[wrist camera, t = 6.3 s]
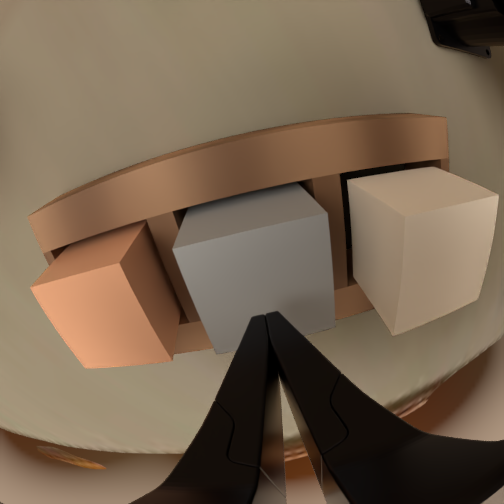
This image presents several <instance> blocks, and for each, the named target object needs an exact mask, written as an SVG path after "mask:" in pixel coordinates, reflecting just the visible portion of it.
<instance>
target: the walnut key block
mask: <svg viewBox="0 0 504 504" xmlns="http://www.w3.org/2000/svg"><path fill="white" fill-rule="evenodd" d="M402 163H405V170H411V169H418V168H425V167H436V168H439V169H441V170H444V171H447V172H449V150H448V132H447V120H446V117H439V116H431V115H422V114H412V113H396V114H376V115H362V116H351V117H341V118H332V119H324V120H316V121H309V122H303V123H296V124H290V125H284V126H279V127H273V128H268V129H263V130H258V131H253V132H248V133H244V134H239V135H235V136H231V137H226V138H222V139H218V140H214V141H211V142H207V143H203V144H199V145H196V146H192V147H189V148H185V149H182V150H178V151H175V152H172V153H169V154H165V155H162V156H159V157H156V158H153V159H150V160H147V161H144V162H141V163H138V164H136V165H133V166H130V167H127V168H125V169H122V170H119V171H117V172H114V173H112V174H109V175H106V176H104V177H101V178H99V179H97V180H94V181H92V182H89V183H87V184H85V185H82V186H80V187H78V188H76V189H73V190H71V191H69V192H67V193H65V194H63V195H60V196H59V197H57V198H55V199H54V200H52V201H51V202H49V203H47V204H46V205H44V206H43V207H41V208H40V209H38V210H37V211H35V212H34V213H32V214H31V215H29V216H28V220H29V222H30V225H31V227H32V229H33V232H34V234H35V236H36V239H37V241H38V243H39V245H40V248H41V250H42V252H43V254H44V256H45V258H46V260H47V262H48V264H49V266H50V265H51V264H52V262H53V261H54V260H55V259H56V258H57V257H58V256H59V255H60V254H61V253H62V252H63V251H64V250H65V249H66V248H67V247H68V246H69V245H70V244H71V243H73V242H76V241H79V240H82V239H85V238H87V237H90V236H93V235H96V234H99V233H102V232H105V231H109V230H112V229H115V228H118V227H121V226H124V225H127V224H131V223H134V222H137V221H141V220H144V219H146V220H147V222H148V225H149V228H150V230H151V233H152V236H153V238H154V241H155V244H156V246H157V249H158V251H159V254H160V256H161V259H162V261H163V264H164V266H165V268H166V271H167V273H168V276H169V278H170V280H171V283H172V285H173V287H174V290H175V292H176V294H177V296H178V299H179V301H180V303H181V305H182V309H181V314H180V320H179V325H178V331H177V337H176V343H175V349H174V354H179V353H186V352H192V351H199V350H205V349H211V348H213V345H212V343H211V341H210V339H209V337H208V335H207V332H206V330H205V328H204V326H203V323H202V321H201V319H200V316H199V314H198V312H197V310H196V307H195V305H194V302H193V300H192V298H191V295H190V293H189V290H188V288H187V286H186V283H185V281H184V278H183V276H182V273H181V271H180V268H179V266H178V263H177V260H176V258H175V255H174V253H173V250H172V248H173V246H174V243H175V240H176V238H177V235H178V233H179V230H180V227H181V225H182V222H183V220H184V217H185V215H186V212H187V210H188V207H190V206H194V205H197V204H201V203H205V202H209V201H213V200H217V199H221V198H225V197H229V196H233V195H237V194H241V193H246V192H250V191H254V190H259V189H263V188H268V187H272V186H277V185H282V184H286V183H291V182H297V183H298V184H299V185H300V186H301V187H302V188H303V189H304V190H305V191H306V192H307V193H308V194H309V195H310V196H311V197H312V198H313V199H314V200H315V201H316V202H317V203H318V204H319V205H320V206H321V207H322V208H323V209H324V210H325V211H326V212H327V213H328V223H329V232H330V243H331V255H332V268H333V283H334V301H335V320H338V319H342V318H345V317H349V316H352V315H355V314H359V313H362V312H365V311H368V310H371V309H375V308H374V306H373V305H372V303H371V302H370V300H369V299H368V297H367V296H366V294H365V293H364V291H363V290H362V289H361V287H360V286H359V284H358V283H357V281H356V280H355V278H354V277H353V256H352V248H351V249H347V250H346V241H345V226H344V214H343V203H342V193H341V184H340V175H339V173H344V172H350V171H356V170H362V169H368V168H375V167H381V166H388V165H395V164H402Z"/></svg>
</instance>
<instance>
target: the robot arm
mask: <svg viewBox="0 0 504 504" xmlns="http://www.w3.org/2000/svg"><path fill="white" fill-rule="evenodd" d="M420 1H421V3H422V6H423V9H424V12H425V15H426V18H427V21H428V25H429V28H430V31H431V35H432V38H433V41H434V42H435V43H436V44H437V45H439V46H443V47H447V48H451V49H455V50H459V51H463V52H467V53H470V54H473V55H477V56H480V57H483V58H491V51H490V47H489V46H504V0H420ZM439 38H440V40H439ZM278 374H279V375H278ZM279 377H280V381H281V384H282V387H283V389H284V392H285V395H286V397H287V400H288V403H289V406H290V408H291V411H292V414H293V416H294V419H295V422H296V424H297V427H298V430H299V432H300V435H301V438H302V440H303V443H304V445H305V448H306V451H307V453H308V456H309V459H310V461H311V464H312V466H313V469H314V471H315V474H316V477H317V479H318V482H319V484H320V486H321V489H322V491H323V494H324V497H325V499H326V502H327V504H504V440H500V441H479V440H469V439H461V438H453V437H446V436H440V435H434V434H429V433H426V432H423V431H421V430H419V429H417V428H415V427H413V426H412V425H410V424H408V423H407V422H405V421H404V420H402V419H401V418H399V417H398V416H396V415H395V414H393V413H392V412H390V411H389V410H387V409H386V408H384V407H383V406H382V405H380V404H379V403H377V402H376V401H374V400H373V399H372V398H370V397H369V396H368V395H366V394H365V393H364V392H362V391H361V390H360V389H359V388H358V387H357V386H356V385H354V384H353V383H352V382H351V381H350V380H349V379H348V378H347V377H346V376H345V375H344V374H341V372H340V371H339V370H338V369H337V368H336V367H335V366H334V365H333V364H332V363H331V362H330V361H329V360H328V359H327V358H326V357H325V356H324V355H323V354H322V353H321V352H320V351H319V350H318V349H317V348H315V347H314V346H313V345H312V344H311V343H310V342H309V341H308V340H307V339H306V338H305V337H304V336H303V335H302V334H301V333H300V332H299V331H298V330H297V329H296V328H295V327H294V326H293V325H292V324H291V323H290V322H289V321H288V320H287V319H286V318H285V317H284V316H283V315H282V314H281V313H280V312H279V311H273V312H269V313H266V315H264V314H260V315H256V316H252V317H251V319H250V321H249V323H248V326H247V328H246V330H245V333H244V335H243V337H242V340H241V342H240V344H239V346H238V349H237V351H236V353H235V355H234V358H233V360H232V362H231V364H230V367H229V369H228V371H227V373H226V376H225V378H224V380H223V382H222V384H221V387H220V389H219V391H218V393H217V395H216V398H215V401H214V402H213V404H212V406H211V408H210V410H209V412H208V414H207V416H206V418H205V420H204V422H203V424H202V426H201V428H200V429H199V431H198V433H197V434H196V436H195V438H194V439H193V441H192V442H191V444H190V445H189V447H188V448H187V450H186V451H185V453H184V455H183V456H182V457H181V459H180V460H179V462H178V463H177V465H176V466H175V468H174V469H173V471H172V472H171V473H170V475H169V476H168V477H167V478H166V480H165V481H164V482H163V483H162V484H161V485H160V486H158V487H157V488H156V489H154V490H153V491H151V492H150V493H148V494H146V495H144V496H142V497H140V498H139V499H137V500H135V501H133V502H131V503H129V504H286V485H285V462H284V444H283V426H282V410H281V395H280V382H279ZM0 504H3V503H1V502H0Z"/></svg>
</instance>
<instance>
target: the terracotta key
mask: <svg viewBox="0 0 504 504" xmlns="http://www.w3.org/2000/svg"><path fill="white" fill-rule="evenodd" d="M30 288H31V290H32V292H33V294H34V295H35V297H36V299H37V300H38V302H39V304H40V305H41V307H42V308H43V310H44V312H45V313H46V315H47V316H48V318H49V319H50V321H51V322H52V324H53V325H54V327H55V328H56V330H57V331H58V333H59V334H60V335H61V337H62V338H63V340H64V341H65V342H66V344H67V345H68V346H69V348H70V349H71V350H72V352H73V353H74V354H75V356H76V357H77V358H78V359H79V361H80V362H81V363H82V364H83V366H84V367H85V368H105V367H120V366H132V365H143V364H152V363H161V362H169V361H173V355H174V349H175V343H176V337H177V331H178V325H179V320H180V314H181V309H182V305H181V303H180V301H179V299H178V296H177V294H176V292H175V290H174V287H173V285H172V283H171V280H170V278H169V276H168V273H167V271H166V268H165V266H164V264H163V261H162V259H161V256H160V254H159V251H158V249H157V246H156V244H155V241H154V238H153V236H152V233H151V230H150V228H149V225H148V222H147V220H146V219H144V220H141V221H137V222H134V223H131V224H127V225H124V226H121V227H118V228H115V229H112V230H109V231H105V232H102V233H99V234H96V235H93V236H90V237H87V238H85V239H82V240H79V241H76V242H73V243H71V244H70V245H69V246H68V247H67V248H66V249H65V250H64V251H63V252H62V253H61V254H60V255H59V256H58V257H57V258H56V259H55V260H54V261H53V262H52V264H51V265H50V266H49V267H48V268H47V269H46V270H45V271H44V272H43V273H42V275H41V276H40V277H39V278H38V279H37V280H36V281H35V283H34V284H33V285H32V286H31V287H30Z"/></svg>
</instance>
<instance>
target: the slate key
mask: <svg viewBox="0 0 504 504" xmlns="http://www.w3.org/2000/svg"><path fill="white" fill-rule="evenodd" d="M172 250H173V253H174V255H175V258H176V260H177V263H178V266H179V268H180V271H181V273H182V276H183V278H184V281H185V283H186V286H187V288H188V290H189V293H190V295H191V298H192V300H193V302H194V305H195V307H196V310H197V312H198V314H199V316H200V319H201V321H202V323H203V326H204V328H205V330H206V332H207V335H208V337H209V339H210V341H211V343H212V345H213V348H214V350H215V352H216V354H221V353H227V352H232V351H237V349H238V346H239V344H240V342H241V340H242V337H243V335H244V333H245V330H246V328H247V326H248V323H249V321H250V319H251V317H252V316H256V315H260V314H264V315H266V313H269V312H273V311H279V312H280V313H281V314H282V315H283V316H284V317H285V318H286V319H287V320H288V321H289V322H290V323H291V324H292V325H293V326H294V327H295V328H296V329H297V330H298V331H299V332H300V333H301V334H302V335H303V336H305V335H309V334H313V333H317V332H320V331H324V330H328V329H331V328H335V301H334V283H333V268H332V255H331V243H330V232H329V223H328V213H327V212H326V211H325V210H324V209H323V208H322V207H321V206H320V205H319V204H318V203H317V202H316V201H315V200H314V199H313V198H312V197H311V196H310V195H309V194H308V193H307V192H306V191H305V190H304V189H303V188H302V187H301V186H300V185H299V184H298V183H297V182H291V183H286V184H282V185H277V186H272V187H268V188H263V189H259V190H254V191H250V192H246V193H241V194H237V195H233V196H229V197H225V198H221V199H217V200H213V201H209V202H205V203H201V204H197V205H194V206H190V207H188V210H187V212H186V215H185V217H184V220H183V222H182V225H181V227H180V230H179V233H178V235H177V238H176V240H175V243H174V246H173V248H172Z"/></svg>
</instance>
